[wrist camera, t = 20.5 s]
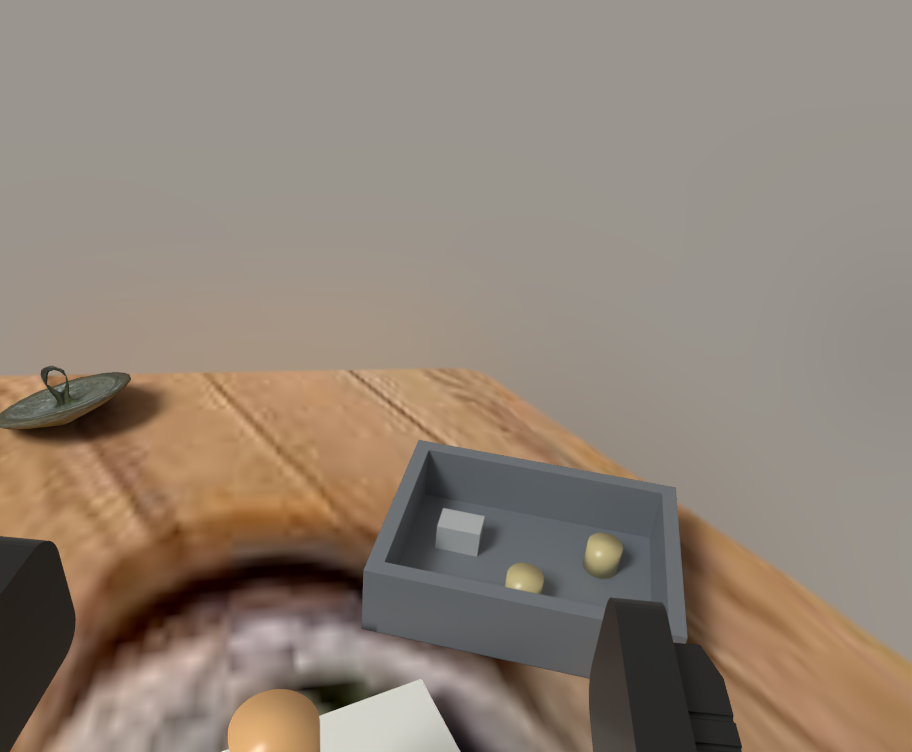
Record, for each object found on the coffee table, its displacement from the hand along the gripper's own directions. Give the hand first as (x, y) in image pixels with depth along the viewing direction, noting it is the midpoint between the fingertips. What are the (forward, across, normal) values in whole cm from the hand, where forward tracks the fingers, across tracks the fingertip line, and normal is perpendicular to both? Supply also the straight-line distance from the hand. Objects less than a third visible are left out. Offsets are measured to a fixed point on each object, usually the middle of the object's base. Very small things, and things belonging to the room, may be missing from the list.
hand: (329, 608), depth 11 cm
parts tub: (+31, -7, +31) cm, 44 cm away
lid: (+44, +32, +31) cm, 62 cm away
